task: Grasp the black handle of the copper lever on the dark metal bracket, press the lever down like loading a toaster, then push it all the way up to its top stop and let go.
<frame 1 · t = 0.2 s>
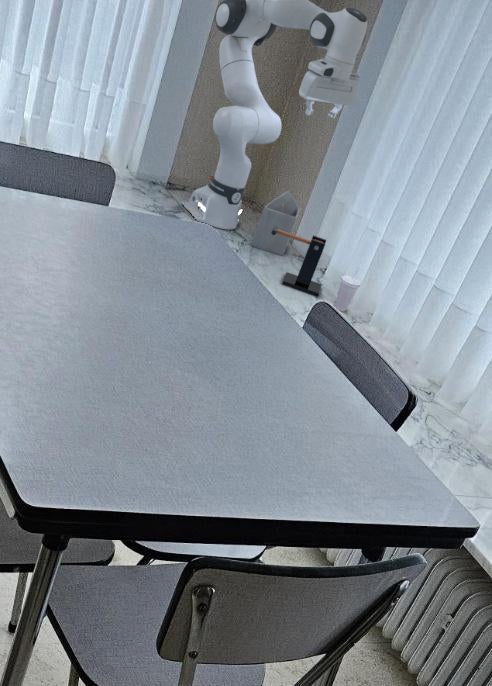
hand: (319, 116, 304), 48 cm above the table, tool pointing down, fingers open, 8 cm apart
smoothie: (339, 308, 314), on the table
lever: (296, 238, 314), point 14 cm above the table, hinge at 0.0°
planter: (274, 250, 342), on the table
bracket: (301, 285, 321), on the table
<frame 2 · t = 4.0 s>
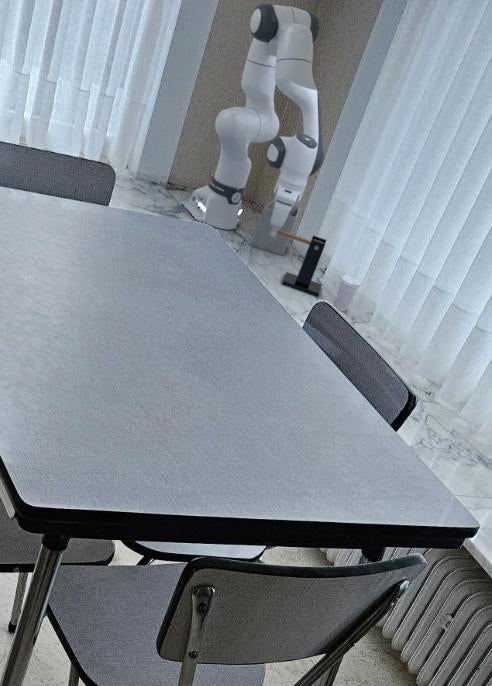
hand: (273, 232, 315), 13 cm above the table, tool pointing down, fingers closed on lever, 5 cm apart
lever: (296, 238, 314), point 14 cm above the table, hinge at 0.0°, touching gripper
everything else where it was.
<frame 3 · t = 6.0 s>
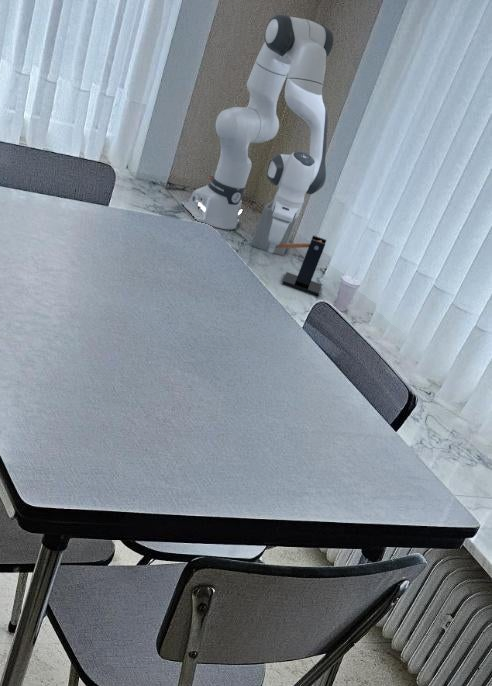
hand: (271, 249, 317), 8 cm above the table, tool pointing down, fingers closed on lever, 5 cm apart
lever: (295, 245, 315), point 12 cm above the table, hinge at -20.5°, touching gripper
everything else where it was.
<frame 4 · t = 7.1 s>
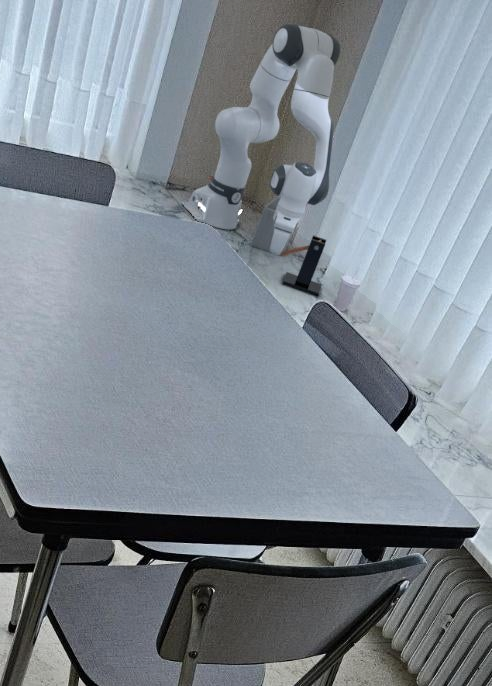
hand: (273, 258, 319), 5 cm above the table, tool pointing down, fingers closed on lever, 5 cm apart
lever: (296, 250, 316), point 10 cm above the table, hinge at -32.9°, touching gripper
everything else where it was.
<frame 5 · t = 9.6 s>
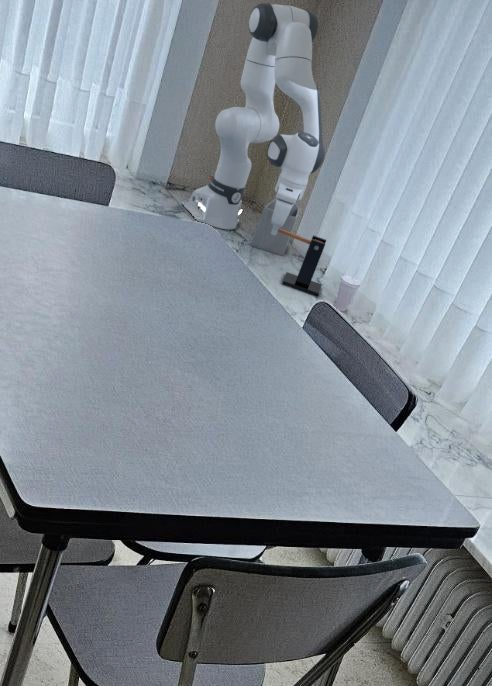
hand: (274, 231, 314), 14 cm above the table, tool pointing down, fingers closed on lever, 5 cm apart
lever: (297, 237, 314), point 14 cm above the table, hinge at 2.3°, touching gripper
everything else where it was.
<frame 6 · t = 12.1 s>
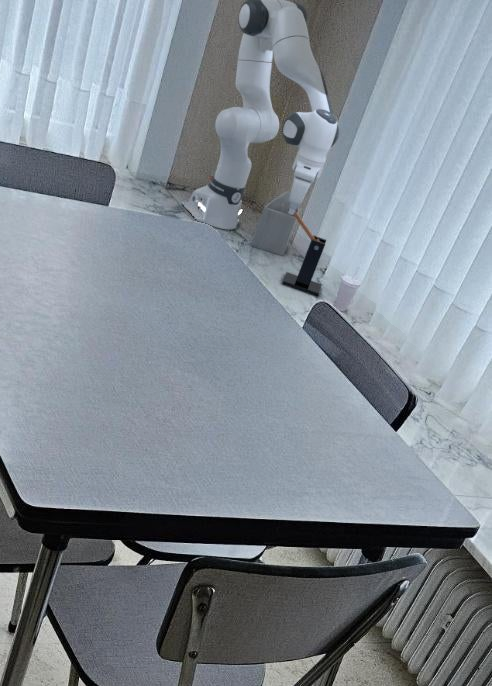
hand: (291, 211, 310), 21 cm above the table, tool pointing down, fingers closed on lever, 5 cm apart
lever: (304, 227, 312), point 18 cm above the table, hinge at 35.2°, touching gripper
everything else where it was.
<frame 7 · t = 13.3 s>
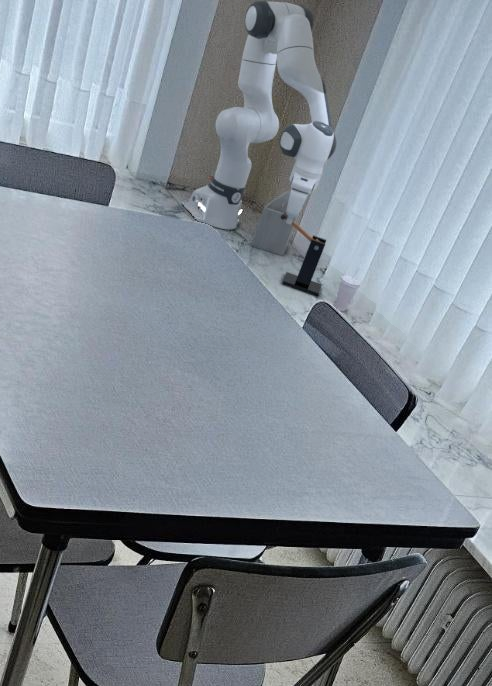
hand: (289, 221, 312), 18 cm above the table, tool pointing down, fingers closed
lever: (301, 230, 312), point 17 cm above the table, hinge at 22.9°
everything else where it was.
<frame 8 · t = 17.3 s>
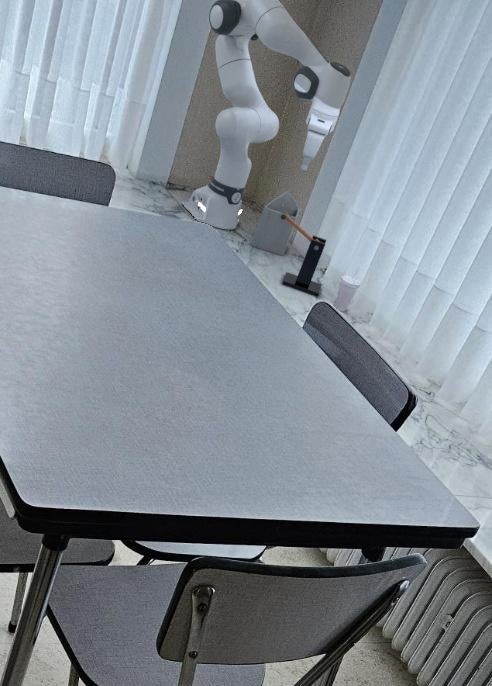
hand: (305, 165, 311), 33 cm above the table, tool pointing down, fingers open, 8 cm apart
nothing on the table moved.
at the end: lever reached -33° during the clip, +23° at the end; lever reached +36° during the clip, +23° at the end; lever at +23° (first picture: +0°) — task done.
